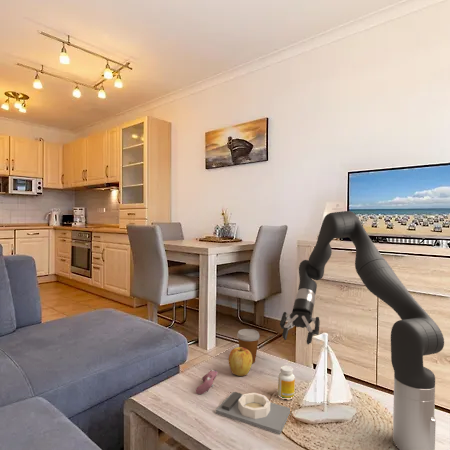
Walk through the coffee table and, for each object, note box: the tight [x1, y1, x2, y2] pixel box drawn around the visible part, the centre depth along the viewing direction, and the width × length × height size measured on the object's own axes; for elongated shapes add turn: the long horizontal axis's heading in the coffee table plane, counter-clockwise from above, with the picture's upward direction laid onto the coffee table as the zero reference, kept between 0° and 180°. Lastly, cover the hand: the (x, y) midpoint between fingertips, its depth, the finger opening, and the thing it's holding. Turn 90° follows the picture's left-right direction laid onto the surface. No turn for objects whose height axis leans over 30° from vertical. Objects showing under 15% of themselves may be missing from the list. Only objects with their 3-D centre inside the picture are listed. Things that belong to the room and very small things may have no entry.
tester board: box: [215, 391, 291, 435], centre depth 97 cm, size 20×12×4 cm, turn 63°
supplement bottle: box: [277, 365, 296, 398], centre depth 107 cm, size 5×5×10 cm
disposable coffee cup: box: [236, 328, 261, 365], centre depth 134 cm, size 10×10×12 cm
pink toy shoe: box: [195, 369, 218, 395], centre depth 111 cm, size 10×5×7 cm, turn 169°
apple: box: [227, 346, 253, 377], centre depth 122 cm, size 9×9×10 cm
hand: (296, 341), depth 117 cm, fingers open, 8 cm apart
